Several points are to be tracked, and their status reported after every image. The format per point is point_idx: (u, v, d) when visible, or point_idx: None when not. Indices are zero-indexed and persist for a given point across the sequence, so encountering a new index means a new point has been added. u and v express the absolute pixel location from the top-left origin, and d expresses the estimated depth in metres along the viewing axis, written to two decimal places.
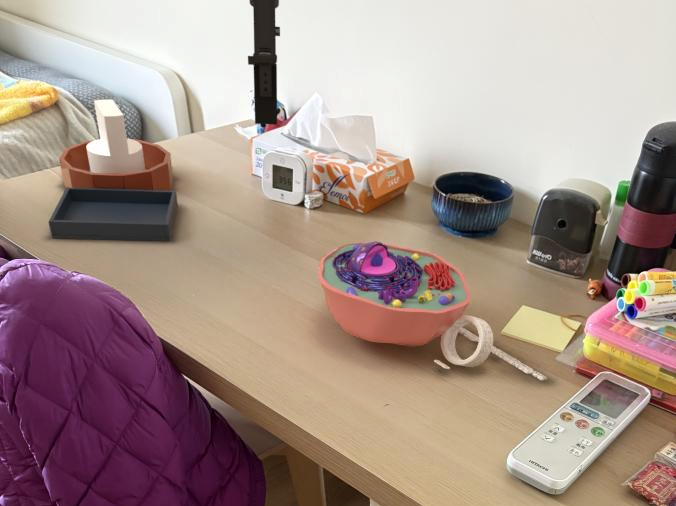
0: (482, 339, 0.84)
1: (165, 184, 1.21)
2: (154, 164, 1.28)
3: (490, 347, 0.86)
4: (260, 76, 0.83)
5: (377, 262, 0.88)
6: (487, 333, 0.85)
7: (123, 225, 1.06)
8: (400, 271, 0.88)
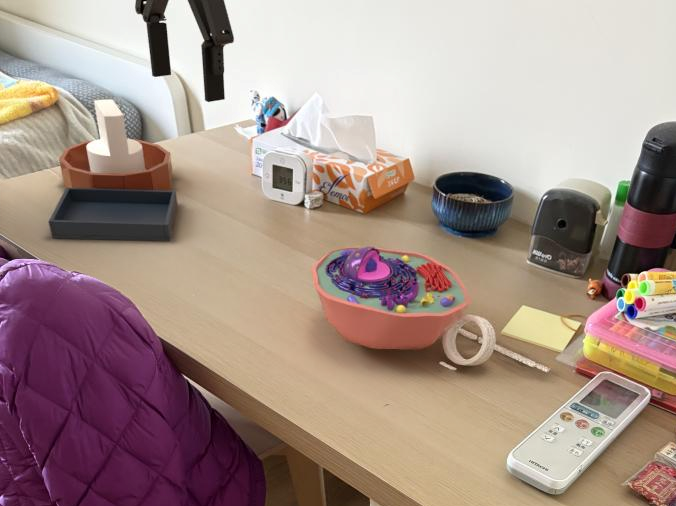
0: (486, 337, 0.85)
1: (165, 184, 1.21)
2: (154, 164, 1.28)
3: (493, 344, 0.86)
4: (215, 57, 0.93)
5: (372, 267, 0.86)
6: (490, 331, 0.85)
7: (123, 225, 1.06)
8: (395, 275, 0.87)
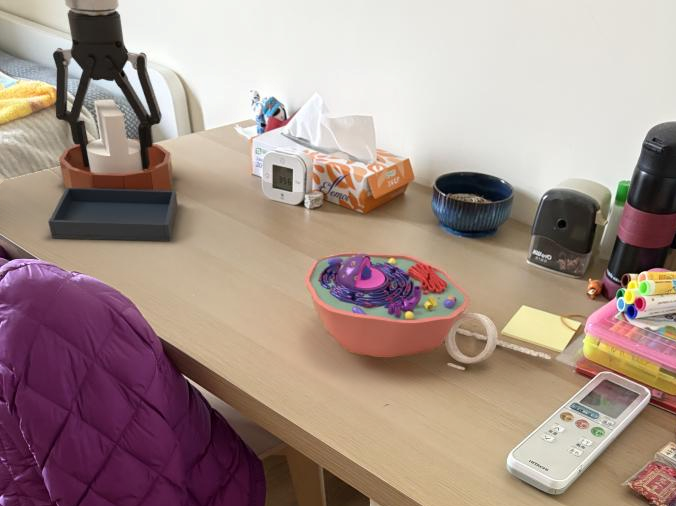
0: (491, 333, 0.85)
1: (165, 184, 1.21)
2: (154, 164, 1.28)
3: (496, 339, 0.87)
4: (151, 133, 1.18)
5: (367, 275, 0.85)
6: (492, 326, 0.86)
7: (123, 225, 1.06)
8: (390, 280, 0.86)
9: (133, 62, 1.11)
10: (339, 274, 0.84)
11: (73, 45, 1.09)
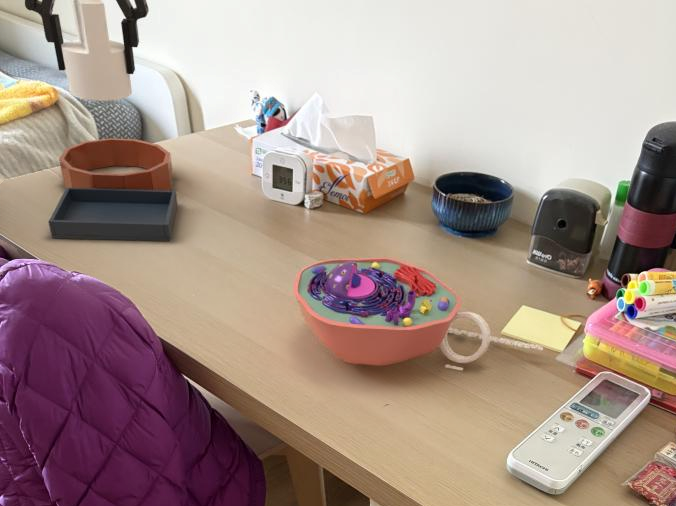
0: (485, 331, 0.85)
1: (165, 184, 1.21)
2: (154, 164, 1.28)
3: (489, 335, 0.87)
4: (136, 30, 1.02)
5: (357, 282, 0.83)
6: (485, 323, 0.86)
7: (123, 225, 1.06)
8: (379, 285, 0.85)
9: None
10: (329, 284, 0.82)
11: None
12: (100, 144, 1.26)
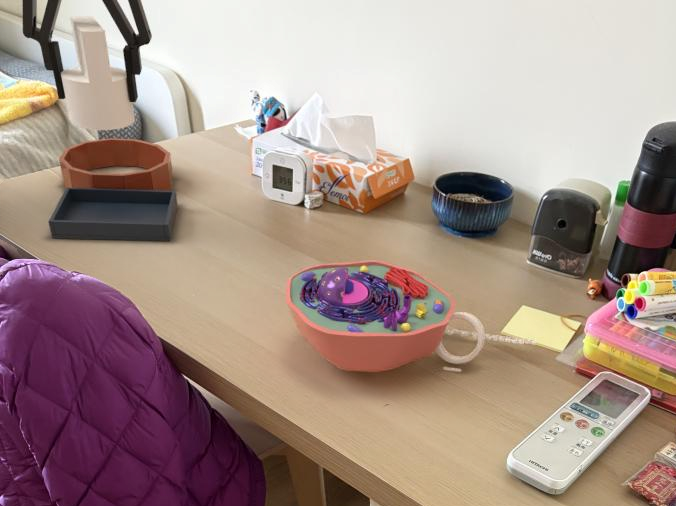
0: (480, 330, 0.85)
1: (165, 184, 1.21)
2: (154, 164, 1.28)
3: (484, 334, 0.87)
4: (139, 57, 0.98)
5: (351, 288, 0.82)
6: (479, 323, 0.86)
7: (123, 225, 1.06)
8: (372, 290, 0.84)
9: None
10: (322, 291, 0.81)
11: None
12: (100, 144, 1.26)
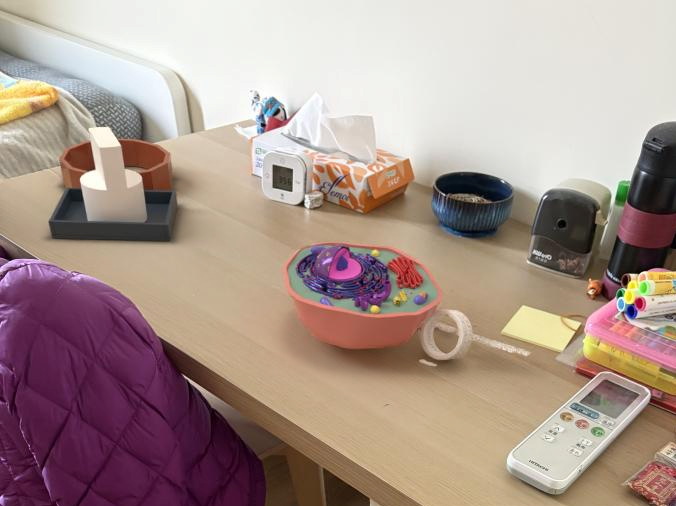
0: (462, 329, 0.85)
1: (165, 184, 1.21)
2: (154, 164, 1.28)
3: (470, 335, 0.86)
4: None
5: (343, 266, 0.86)
6: (465, 322, 0.85)
7: (123, 225, 1.06)
8: (366, 272, 0.87)
9: None
10: (315, 263, 0.86)
11: None
12: None
